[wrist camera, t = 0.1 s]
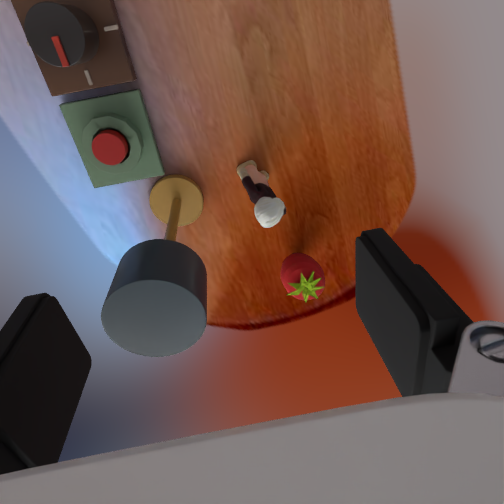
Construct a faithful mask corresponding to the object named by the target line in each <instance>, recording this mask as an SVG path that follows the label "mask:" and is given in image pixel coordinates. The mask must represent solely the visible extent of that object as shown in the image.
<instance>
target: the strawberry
mask: <svg viewBox="0 0 504 504" xmlns="http://www.w3.org/2000/svg"><path fill="white" fill-rule="evenodd" d="M281 280H282V283H283V285H284V287H285V288H286V290H287V292H288V293H289V294H287V295H292V296H293V297H295V298H297V299H300V300H305V302H306V301H307V300H311V299H314V298H317V299H318V296H319V295H320V294H321V293H322V291H323V290H324V287H325V277H324V273H323V270H322V268H321V266H320V265H319V264H318V263H317V262H316V261H315V260H314V259H313V258H311V257H310V256H308V255H306V254H303V253H293V254H291V255H289V256H288V257H287V258H286V259H285V260H284V262H283V264H282V269H281Z"/></svg>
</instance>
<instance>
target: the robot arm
mask: <svg viewBox="0 0 504 504" xmlns="http://www.w3.org/2000/svg"><path fill="white" fill-rule="evenodd" d="M356 308H357V312H358V314H359V316H360V318H361V320H362V322H363V323H364V326H365V328H366V329H367V331H368V333H369V335H370V337H371V338H372V341H373V343H374V344H375V346H376V348H377V350H378V352H379V354H380V356H381V357H382V359H383V361H384V363H385V365H386V367H387V369H388V371H389V372H390V374H391V376H392V378H393V380H394V382H395V384H396V386H397V387H398V389H399V391H400V393H401V395H402V397H399V398H393V399H387V400H381V401H375V402H370V403H364V404H359V405H352V406H347V407H341V408H335V409H330V410H325V411H319V412H314V413H309V414H303V415H298V416H293V417H288V418H283V419H277V420H272V421H267V422H262V423H256V424H251V425H245V426H241V427H236V428H230V429H225V430H220V431H215V432H209V433H204V434H199V435H194V436H189V437H184V438H179V439H174V440H169V441H163V442H159V443H153V444H148V445H143V446H138V447H133V448H128V449H123V450H118V451H113V452H108V453H103V454H99V455H93V456H88V457H83V458H78V459H73V460H69V461H63V462H59V463H58V460H59V457H60V454H61V451H62V448H63V445H64V442H65V440H66V437H67V434H68V431H69V428H70V425H71V422H72V419H73V417H74V414H75V411H76V408H77V405H78V403H79V400H80V397H81V394H82V391H83V388H84V385H85V383H86V380H87V377H88V374H89V371H90V368H91V356H90V354H89V353H88V351H87V349H86V348H85V346H84V344H83V343H82V341H81V339H80V337H79V336H78V334H77V333H76V331H75V329H74V327H73V326H72V324H71V322H70V321H69V319H68V318H67V316H66V314H65V312H64V310H63V309H62V307H61V305H60V304H59V302H58V300H57V299H56V298H55V297H54V296H50V295H49V294H47V293H42V294H36V295H31V296H27V297H24V298H23V299H22V301H21V302H20V304H19V305H18V306H17V308H16V309H15V311H14V312H13V313H12V315H11V316H10V318H9V319H8V321H7V322H6V324H5V325H4V327H3V328H2V329H1V331H0V504H504V323H502V322H496V321H479V322H475V323H474V322H473V321H472V320H471V319H470V318H469V317H468V316H467V315H466V314H465V313H464V312H463V310H462V309H461V308H460V307H459V306H458V305H457V304H456V303H455V302H454V301H453V300H452V299H451V297H450V296H449V295H448V294H447V293H446V292H445V291H444V290H443V289H442V288H441V286H440V285H439V284H438V283H437V282H436V281H435V280H434V279H433V278H432V277H431V276H430V274H429V273H428V272H427V271H426V270H425V269H424V268H423V267H422V266H421V265H419V264H414V263H413V262H412V261H411V260H410V259H409V258H408V257H407V255H406V254H405V253H404V252H403V251H402V250H401V249H400V248H399V246H398V245H397V244H396V243H395V242H394V241H393V240H392V239H391V237H390V236H389V235H388V234H387V233H386V232H385V231H384V230H383V229H382V228H377V229H372V230H367V231H363V232H362V233H361V236H360V237H357V238H356Z"/></svg>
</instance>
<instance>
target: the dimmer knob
mask: <svg viewBox="0 0 504 504" xmlns="http://www.w3.org/2000/svg"><path fill="white" fill-rule="evenodd" d="M24 29H25V34H26V38H27V41H28V43H29V45H30V46H31V48H32V49H33V51H34V52H35V53H36V54H37V55H38V56H39V57H40V58H41V59H42V60H44V61H45V62H47V63H48V64H51V65H53V66H56V67H69V66H73V65H77V64H82V63H85V62H88V61H90V60H91V59H92V58H93V57H94V56H95V55H96V53H97V51H98V48H99V35H98V31H97V28H96V26H95V24H94V22H93V21H92V19H91V18H90V17H89V16H88V15H87V14H86V13H85V12H84V11H82V10H81V9H79V8H77V7H74V6H71V5H66V4H61V3H56V2H51V1H43V2H39V3H37V4H35V5H33V6H32V7H31V8H30V9H29V11H28V12H27V14H26V17H25V22H24Z"/></svg>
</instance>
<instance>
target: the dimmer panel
mask: <svg viewBox="0 0 504 504" xmlns="http://www.w3.org/2000/svg"><path fill="white" fill-rule="evenodd" d="M43 1H51V2H56V3H61V4H66V5H71V6H74V7H77V8H79V9H81V10H82V11H84V12H85V13H86V14H87V15H88V16H89V17H90V18H91V19H92V21H93V22H94V24H95V26H96V28H97V31H98V35H99V48H98V51H97V53H96V55H95V56H94V57H93V58H92V59H91V60H90V61H88V62H85V63H82V64H77V65H73V66H69V67H56V66H53V65H51V64H48V63H47V62H45V61H44V60H42V59H41V58H40V57H39V56H38V55H37V54H36V53H35V52H34V51H33V49H32V51H33V53H34V55H35V58H36V60H37V62H38V65H39V67H40V69H41V72H42V74H43V76H44V79H45V81H46V83H47V86H48V88H49V90H50V93H51V95H52V96H58V95H63V94H68V93H73V92H79V91H84V90H89V89H94V88H100V87H105V86H110V85H116V84H121V83H126V82H131V81H134V80H136V79H137V77H136V74H135V71H134V67H133V64H132V61H131V58H130V54H129V51H128V48H127V44H126V41H125V38H124V34H123V31H122V28H121V24H120V21H119V18H118V15H117V11H116V8H115V5H114V1H113V0H11V2H12V4H13V6H14V9H15V11H16V13H17V16H18V18H19V20H20V23H21V25H22V27H23V30H24V32H25V29H24V22H25V17H26V14H27V12H28V11H29V9H30V8H31V7H32V6H33V5H35V4H37V3H39V2H43ZM27 44H28V46H30V45H29V43H28V42H27Z"/></svg>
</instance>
